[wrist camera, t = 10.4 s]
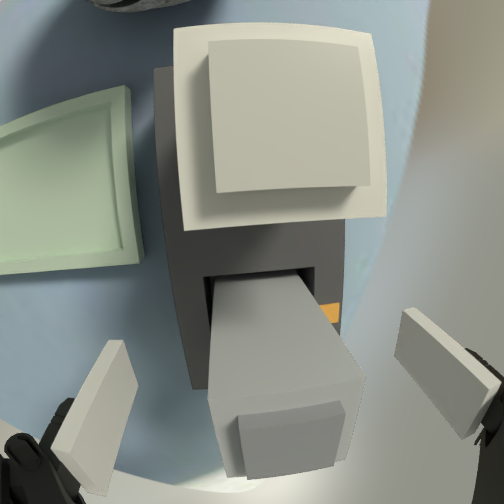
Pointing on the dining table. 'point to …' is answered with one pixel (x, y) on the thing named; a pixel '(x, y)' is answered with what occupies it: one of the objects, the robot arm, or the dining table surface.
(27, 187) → the tray
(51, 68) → the dining table surface
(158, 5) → the decorative orb
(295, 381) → the plug
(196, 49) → the charging dock
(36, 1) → the dining table surface
